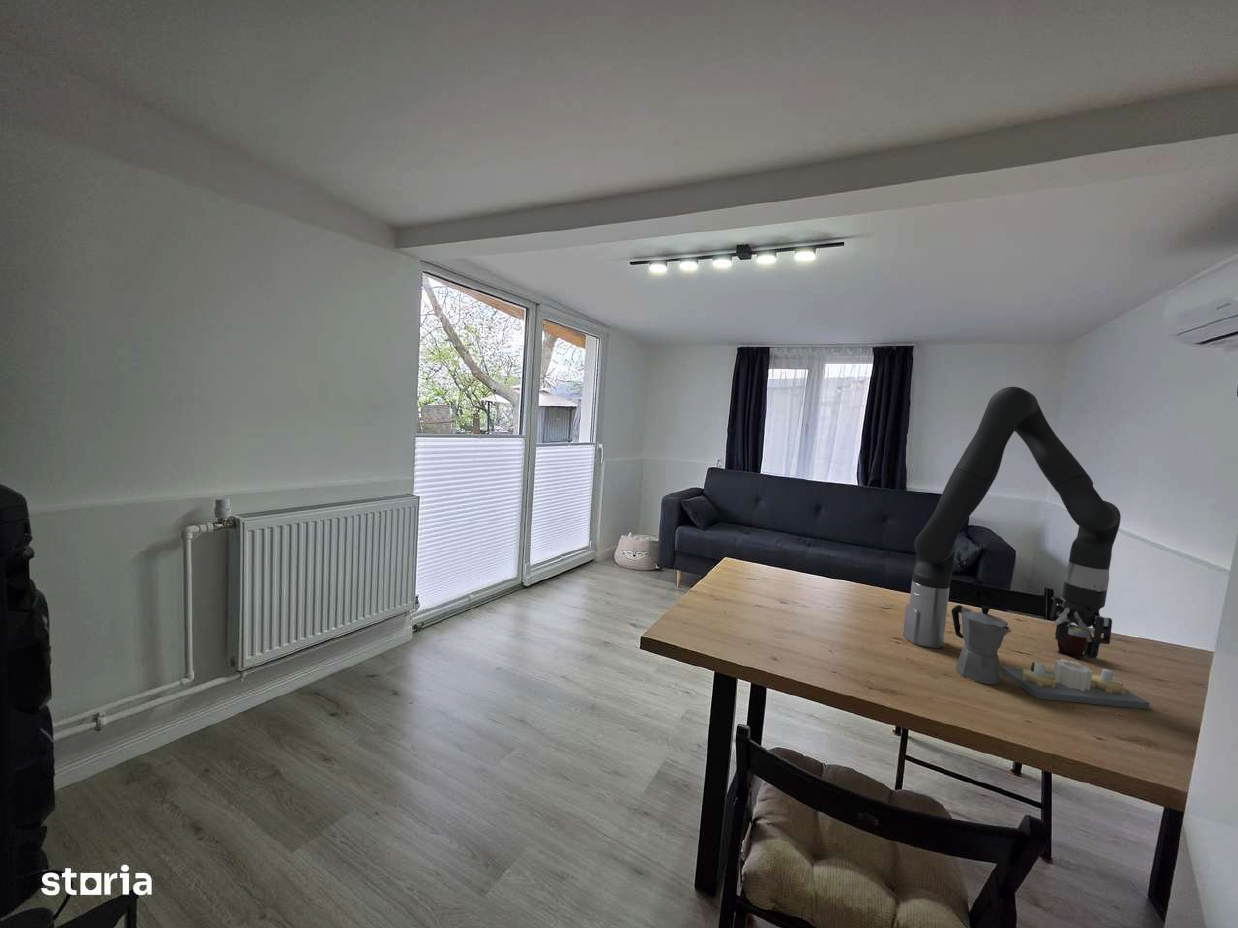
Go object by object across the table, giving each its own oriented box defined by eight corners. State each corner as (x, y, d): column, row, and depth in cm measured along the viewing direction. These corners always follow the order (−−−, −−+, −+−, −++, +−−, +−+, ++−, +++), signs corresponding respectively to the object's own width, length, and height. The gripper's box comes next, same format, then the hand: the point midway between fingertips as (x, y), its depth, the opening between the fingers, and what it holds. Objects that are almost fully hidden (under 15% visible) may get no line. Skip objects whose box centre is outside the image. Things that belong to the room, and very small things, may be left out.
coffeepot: (1018, 688, 119) (1027, 616, 117) (987, 691, 117) (996, 617, 115) (961, 657, 134) (968, 593, 132) (932, 659, 132) (939, 594, 130)
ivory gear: (1067, 689, 116) (1070, 671, 116) (1046, 675, 123) (1048, 657, 123) (1097, 692, 116) (1100, 673, 115) (1074, 677, 122) (1077, 660, 122)
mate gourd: (1094, 662, 135) (1101, 609, 134) (1061, 657, 137) (1068, 605, 136) (1075, 650, 143) (1081, 599, 141) (1043, 646, 144) (1050, 596, 143)
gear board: (1036, 698, 115) (1039, 675, 114) (1001, 672, 126) (1004, 651, 126) (1148, 708, 112) (1152, 685, 112) (1102, 681, 124) (1105, 660, 124)
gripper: (1045, 572, 124) (1036, 634, 126) (1094, 592, 110) (1082, 661, 112) (1078, 575, 124) (1067, 637, 125) (1130, 595, 110) (1118, 665, 111)
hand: (1074, 648), depth 119 cm, fingers open, 8 cm apart
